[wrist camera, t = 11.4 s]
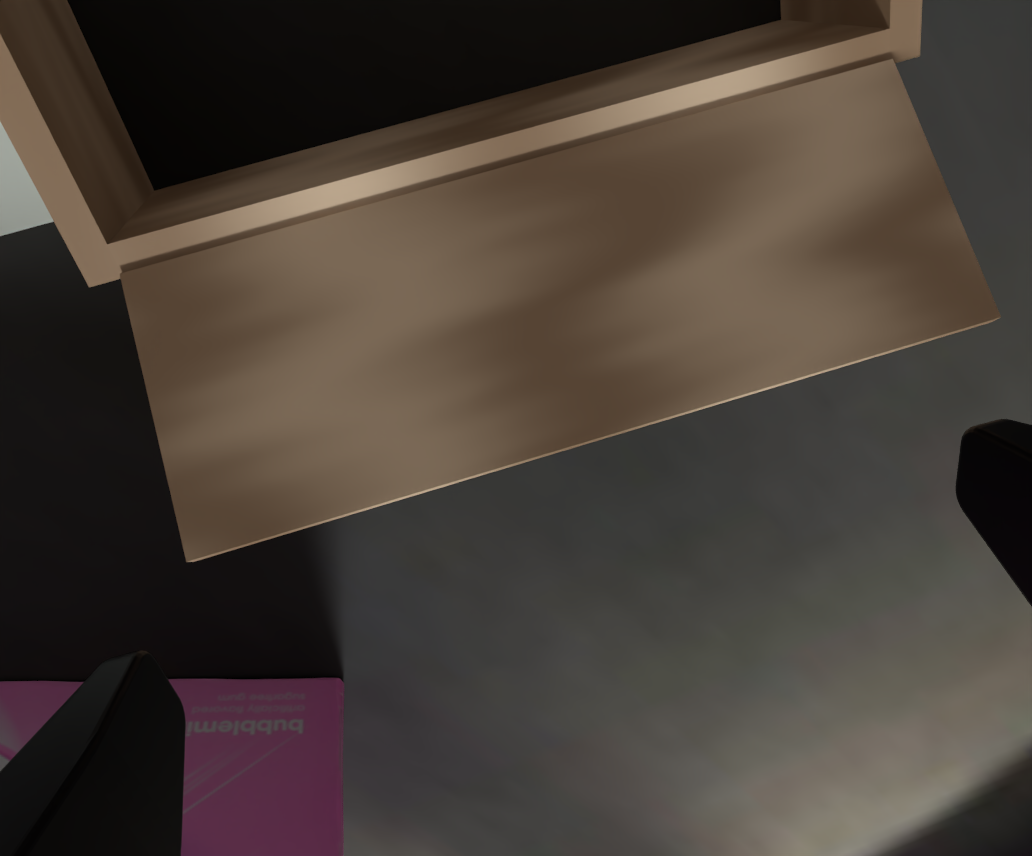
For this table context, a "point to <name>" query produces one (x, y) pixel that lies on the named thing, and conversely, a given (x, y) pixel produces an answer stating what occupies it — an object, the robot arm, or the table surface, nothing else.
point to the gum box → (235, 760)
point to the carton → (503, 260)
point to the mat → (17, 192)
